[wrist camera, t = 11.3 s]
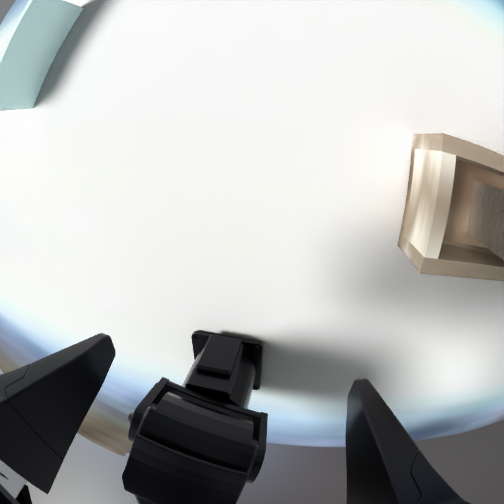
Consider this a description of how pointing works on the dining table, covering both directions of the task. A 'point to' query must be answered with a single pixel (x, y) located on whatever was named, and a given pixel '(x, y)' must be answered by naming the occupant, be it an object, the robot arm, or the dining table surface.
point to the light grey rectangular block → (487, 217)
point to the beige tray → (448, 207)
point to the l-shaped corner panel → (33, 50)
